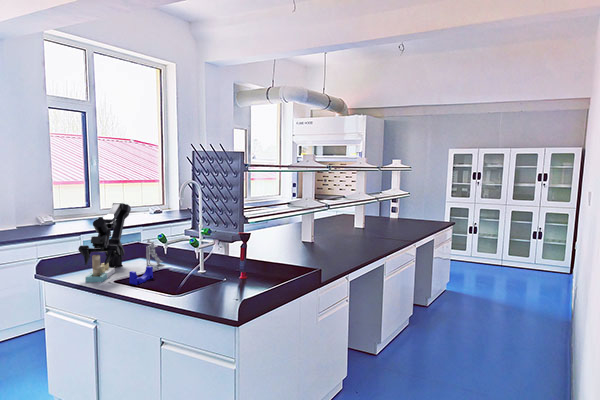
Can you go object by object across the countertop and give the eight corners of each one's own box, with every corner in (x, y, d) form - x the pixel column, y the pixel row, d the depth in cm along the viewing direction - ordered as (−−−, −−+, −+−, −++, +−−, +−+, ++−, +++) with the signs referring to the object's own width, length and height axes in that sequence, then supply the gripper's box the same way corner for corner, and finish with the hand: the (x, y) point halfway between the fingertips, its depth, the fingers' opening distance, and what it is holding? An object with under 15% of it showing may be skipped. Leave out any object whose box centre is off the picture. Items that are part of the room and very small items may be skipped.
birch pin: (101, 278, 202) (100, 254, 201) (100, 280, 198) (99, 256, 197) (93, 279, 200) (92, 255, 199) (92, 281, 197) (91, 256, 196)
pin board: (99, 272, 212) (98, 262, 212) (114, 272, 213) (114, 262, 213) (85, 282, 195) (85, 271, 195) (102, 281, 196) (102, 271, 196)
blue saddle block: (136, 285, 193) (135, 273, 192) (129, 283, 195) (129, 271, 194) (155, 278, 204) (154, 267, 203) (148, 277, 206) (148, 266, 205)
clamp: (161, 266, 227) (161, 240, 226) (145, 265, 227) (144, 240, 226) (164, 264, 231) (164, 238, 230) (148, 263, 232) (147, 238, 230)
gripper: (79, 229, 200) (69, 256, 190) (117, 229, 202) (110, 256, 192) (86, 242, 208) (77, 268, 199) (123, 241, 211) (116, 267, 201)
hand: (95, 264), depth 197 cm, fingers open, 9 cm apart
